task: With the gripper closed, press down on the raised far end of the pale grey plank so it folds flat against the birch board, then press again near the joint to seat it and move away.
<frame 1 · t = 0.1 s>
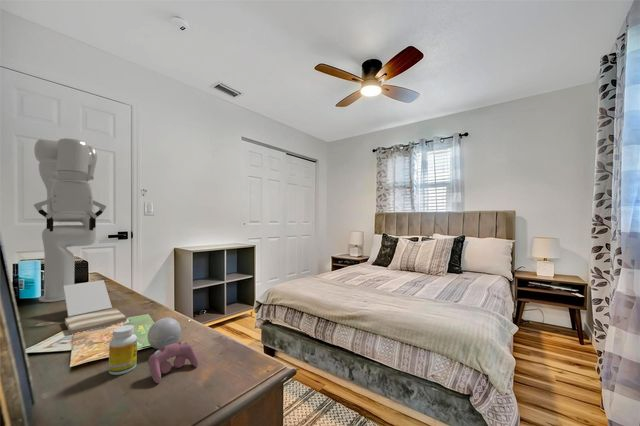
hand: (72, 230, 89), 31 cm above the dresser, tool pointing down, fingers open, 9 cm apart
bath bomb: (164, 348, 75), on the dresser
supplement bottle: (123, 370, 65), on the dresser
video game controller: (173, 372, 64), on the dresser
birch board: (91, 316, 98), on the dresser
grey plank: (87, 298, 102), point 5 cm above the dresser, hinge at 30.0°
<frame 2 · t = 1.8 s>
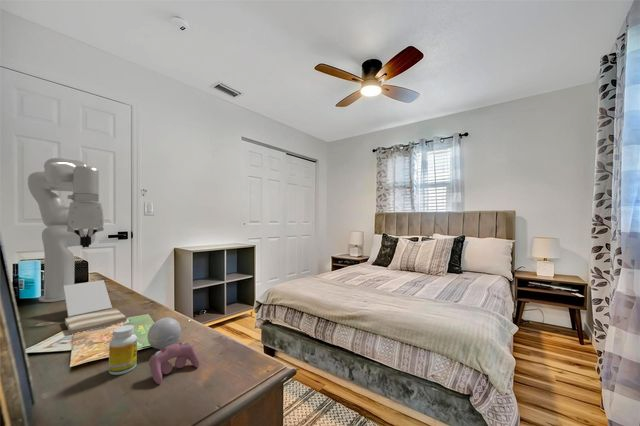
hand: (85, 247, 104), 24 cm above the dresser, tool pointing down, fingers closed
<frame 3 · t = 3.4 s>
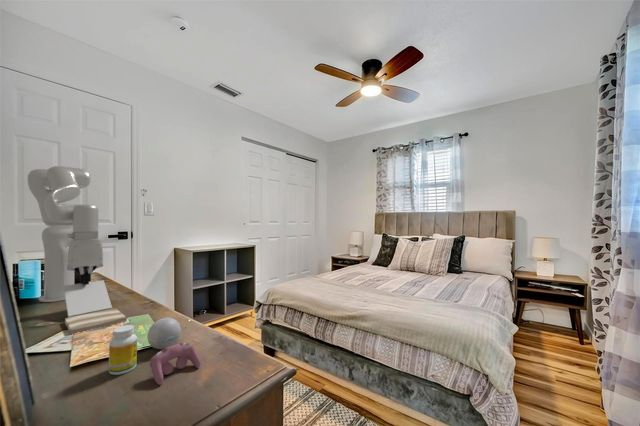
hand: (85, 283, 106), 10 cm above the dresser, tool pointing down, fingers closed
grey plank: (87, 298, 102), point 5 cm above the dresser, hinge at 29.5°, touching gripper
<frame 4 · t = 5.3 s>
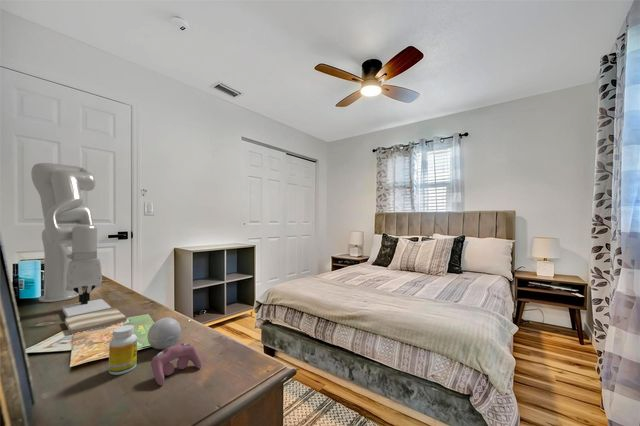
hand: (84, 303, 107), 2 cm above the dresser, tool pointing down, fingers closed
grey plank: (86, 308, 103), point 1 cm above the dresser, hinge at -0.1°, touching gripper
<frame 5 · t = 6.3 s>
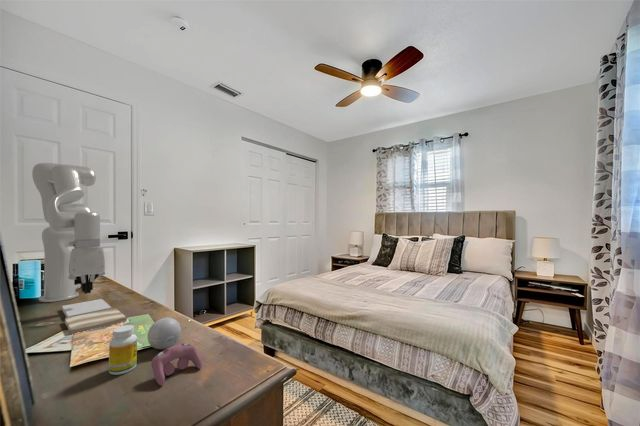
hand: (87, 292, 104), 7 cm above the dresser, tool pointing down, fingers closed
grey plank: (86, 308, 103), point 1 cm above the dresser, hinge at -0.1°
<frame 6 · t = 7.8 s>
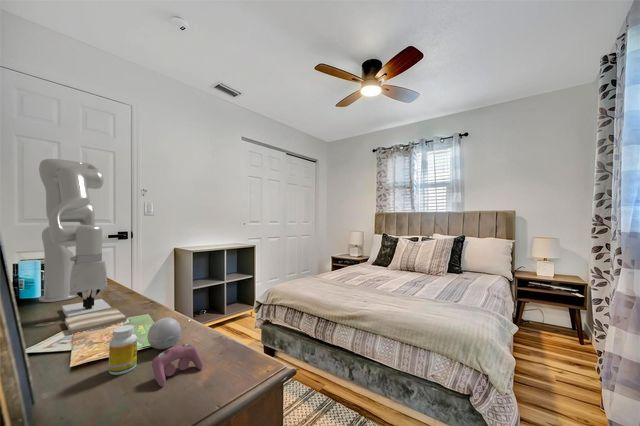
hand: (88, 308, 102), 2 cm above the dresser, tool pointing down, fingers closed
grey plank: (86, 308, 103), point 1 cm above the dresser, hinge at -0.1°, touching gripper
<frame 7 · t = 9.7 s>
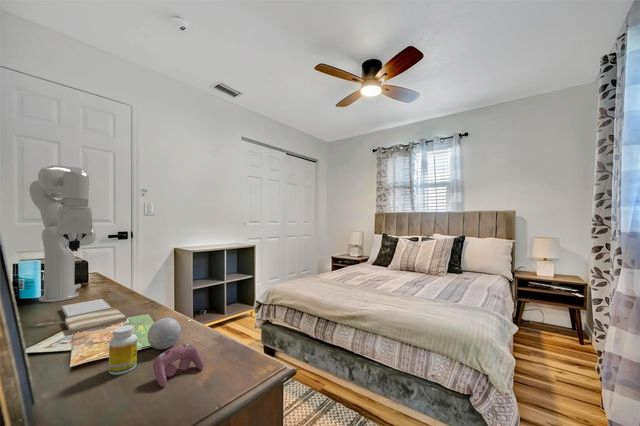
hand: (74, 250, 106), 22 cm above the dresser, tool pointing down, fingers closed
grey plank: (86, 308, 103), point 1 cm above the dresser, hinge at -0.1°
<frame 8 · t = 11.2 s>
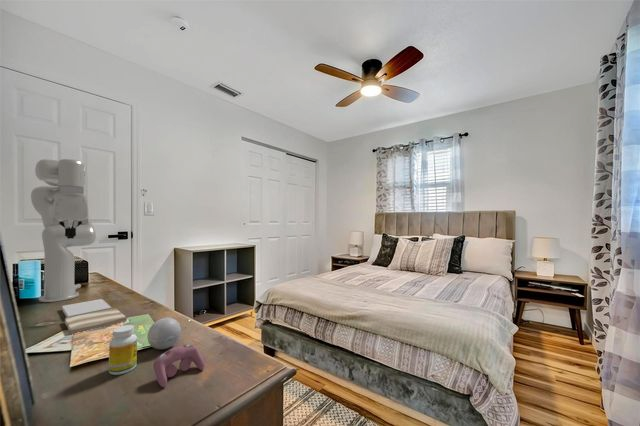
hand: (70, 238, 107), 27 cm above the dresser, tool pointing down, fingers closed
at the end: grey plank at +0° (first picture: +30°); supplement bottle moved 0.2 cm from its start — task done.
